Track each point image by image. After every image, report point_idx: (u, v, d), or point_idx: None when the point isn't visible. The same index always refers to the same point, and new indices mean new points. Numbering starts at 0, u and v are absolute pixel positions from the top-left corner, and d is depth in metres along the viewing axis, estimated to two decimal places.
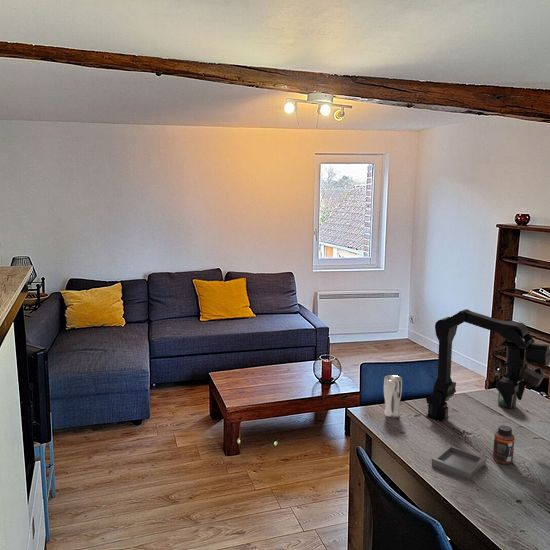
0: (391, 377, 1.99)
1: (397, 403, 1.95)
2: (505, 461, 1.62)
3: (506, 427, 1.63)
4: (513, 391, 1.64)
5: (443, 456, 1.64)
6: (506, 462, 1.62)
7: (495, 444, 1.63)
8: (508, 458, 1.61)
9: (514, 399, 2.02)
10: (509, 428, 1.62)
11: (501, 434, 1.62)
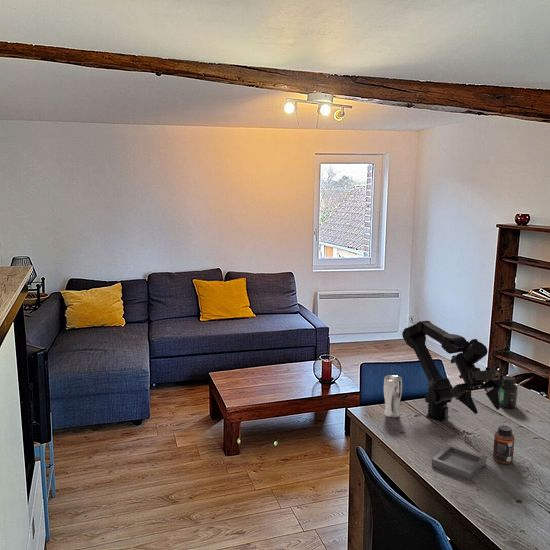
0: (391, 377, 1.99)
1: (397, 403, 1.95)
2: (505, 461, 1.62)
3: (506, 427, 1.63)
4: (460, 390, 1.69)
5: (443, 456, 1.64)
6: (506, 462, 1.62)
7: (495, 444, 1.63)
8: (508, 458, 1.61)
9: (514, 399, 2.02)
10: (509, 428, 1.62)
11: (501, 434, 1.62)
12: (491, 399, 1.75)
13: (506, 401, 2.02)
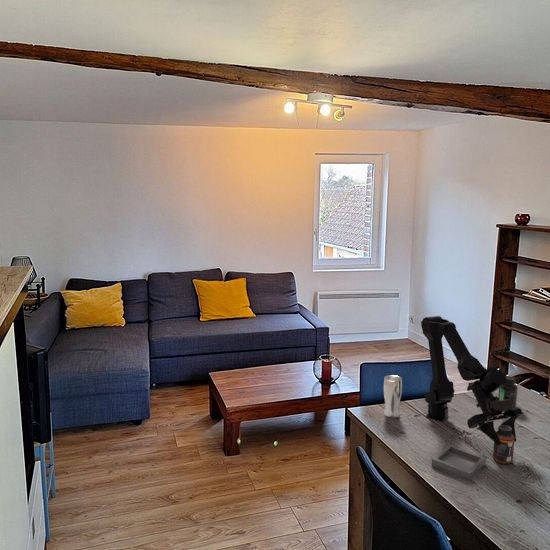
0: (391, 377, 1.99)
1: (397, 403, 1.95)
2: (505, 461, 1.62)
3: (506, 427, 1.63)
4: (478, 421, 1.61)
5: (443, 456, 1.64)
6: (506, 462, 1.62)
7: (495, 444, 1.63)
8: (508, 458, 1.61)
9: (514, 399, 2.02)
10: (509, 428, 1.62)
11: (501, 434, 1.62)
12: None
13: None
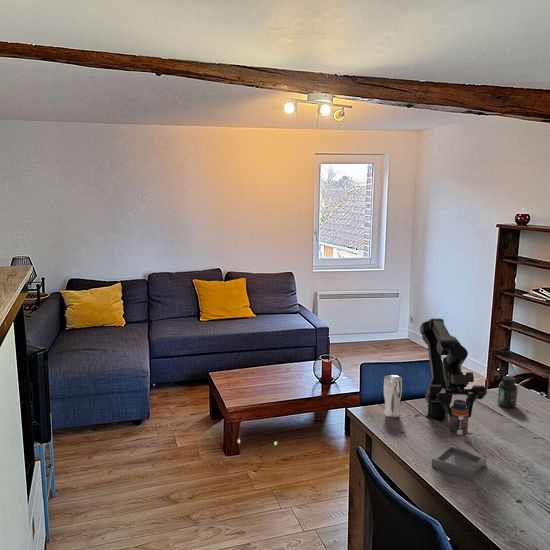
0: (391, 377, 1.99)
1: (397, 403, 1.95)
2: (456, 433, 1.66)
3: (460, 402, 1.67)
4: (431, 390, 1.69)
5: (443, 456, 1.64)
6: (457, 434, 1.66)
7: None
8: (459, 431, 1.66)
9: (514, 399, 2.02)
10: (463, 403, 1.66)
11: (454, 407, 1.67)
12: (467, 406, 1.70)
13: (506, 401, 2.02)
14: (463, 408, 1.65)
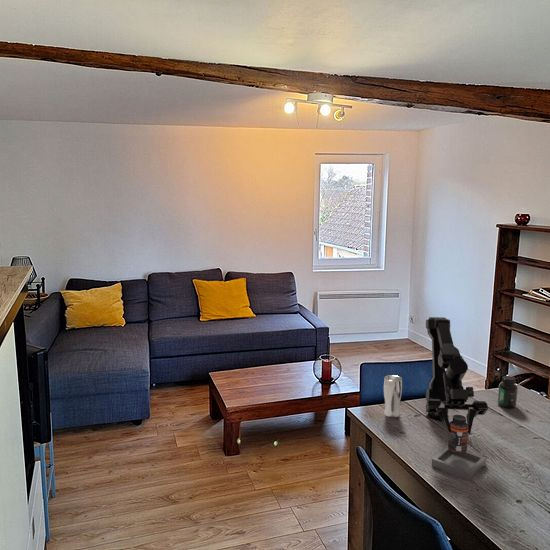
0: (391, 377, 1.99)
1: (397, 403, 1.95)
2: (454, 450, 1.61)
3: (460, 417, 1.62)
4: (429, 405, 1.64)
5: (443, 456, 1.64)
6: (455, 451, 1.61)
7: None
8: (457, 448, 1.61)
9: (514, 399, 2.02)
10: (463, 418, 1.61)
11: (453, 422, 1.62)
12: (467, 422, 1.64)
13: (506, 401, 2.02)
14: (462, 424, 1.60)
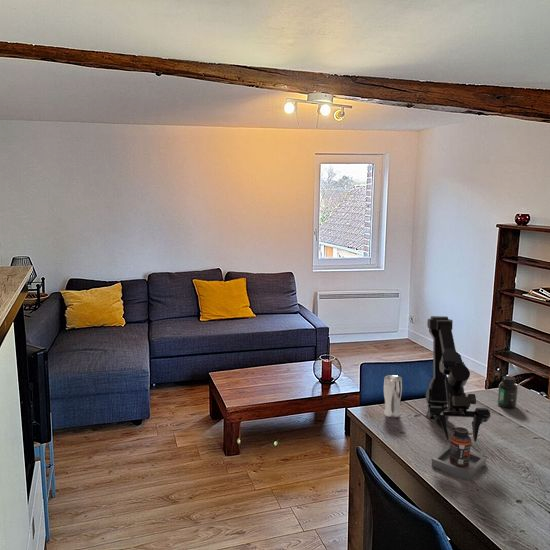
0: (391, 377, 1.99)
1: (397, 403, 1.95)
2: (456, 463, 1.59)
3: (462, 429, 1.60)
4: (431, 412, 1.62)
5: (443, 456, 1.64)
6: (457, 464, 1.59)
7: (450, 445, 1.61)
8: (459, 461, 1.58)
9: (514, 399, 2.02)
10: (465, 431, 1.59)
11: (455, 435, 1.60)
12: (473, 429, 1.61)
13: (506, 401, 2.02)
14: (464, 436, 1.58)
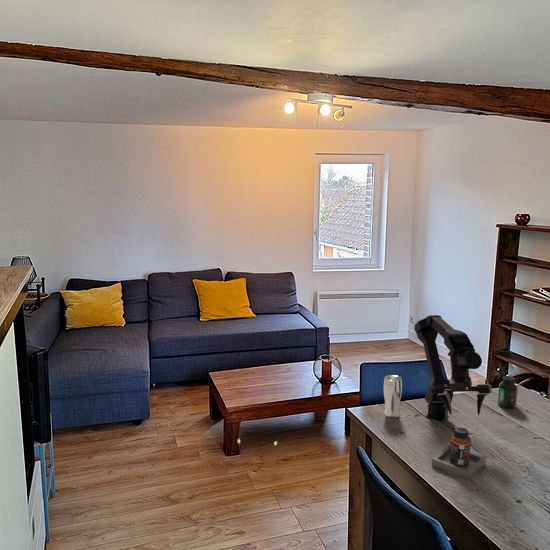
0: (391, 377, 1.99)
1: (397, 403, 1.95)
2: (456, 463, 1.59)
3: (462, 430, 1.59)
4: (434, 392, 1.78)
5: (443, 456, 1.64)
6: (457, 464, 1.59)
7: (450, 445, 1.61)
8: (459, 461, 1.58)
9: (514, 399, 2.02)
10: (465, 431, 1.59)
11: (455, 435, 1.59)
12: None
13: (506, 401, 2.02)
14: (464, 437, 1.58)
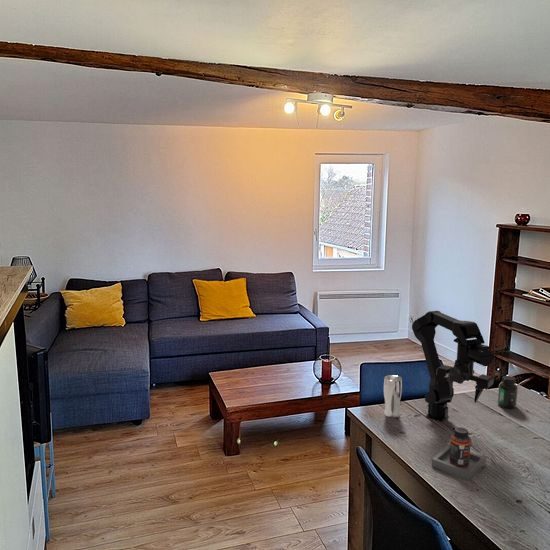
0: (391, 377, 1.99)
1: (397, 403, 1.95)
2: (456, 463, 1.59)
3: (462, 430, 1.59)
4: (436, 374, 1.84)
5: (443, 456, 1.64)
6: (457, 464, 1.59)
7: (450, 445, 1.61)
8: (459, 461, 1.58)
9: (514, 399, 2.02)
10: (465, 431, 1.59)
11: (455, 435, 1.59)
12: None
13: (506, 401, 2.02)
14: (464, 437, 1.58)
